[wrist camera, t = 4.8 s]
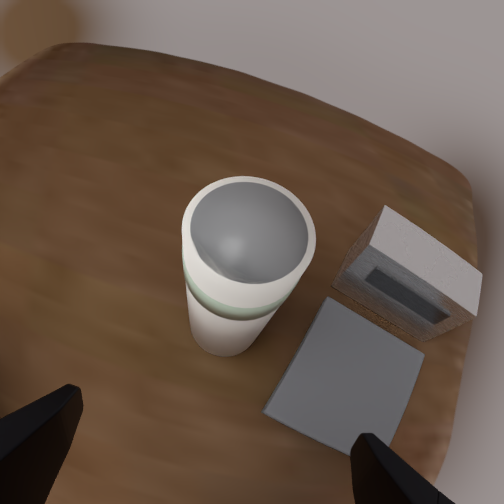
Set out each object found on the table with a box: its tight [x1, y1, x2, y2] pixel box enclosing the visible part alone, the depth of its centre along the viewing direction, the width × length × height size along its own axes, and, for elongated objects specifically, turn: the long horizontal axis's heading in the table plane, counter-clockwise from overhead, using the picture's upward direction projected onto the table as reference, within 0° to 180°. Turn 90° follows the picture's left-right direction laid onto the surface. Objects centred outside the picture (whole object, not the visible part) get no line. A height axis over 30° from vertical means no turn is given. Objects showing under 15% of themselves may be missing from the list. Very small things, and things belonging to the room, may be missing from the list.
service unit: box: [331, 205, 482, 342], centre depth 23 cm, size 4×10×7 cm, turn 59°
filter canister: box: [182, 176, 316, 357], centre depth 18 cm, size 5×5×13 cm
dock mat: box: [261, 297, 425, 456], centre depth 22 cm, size 10×10×1 cm
